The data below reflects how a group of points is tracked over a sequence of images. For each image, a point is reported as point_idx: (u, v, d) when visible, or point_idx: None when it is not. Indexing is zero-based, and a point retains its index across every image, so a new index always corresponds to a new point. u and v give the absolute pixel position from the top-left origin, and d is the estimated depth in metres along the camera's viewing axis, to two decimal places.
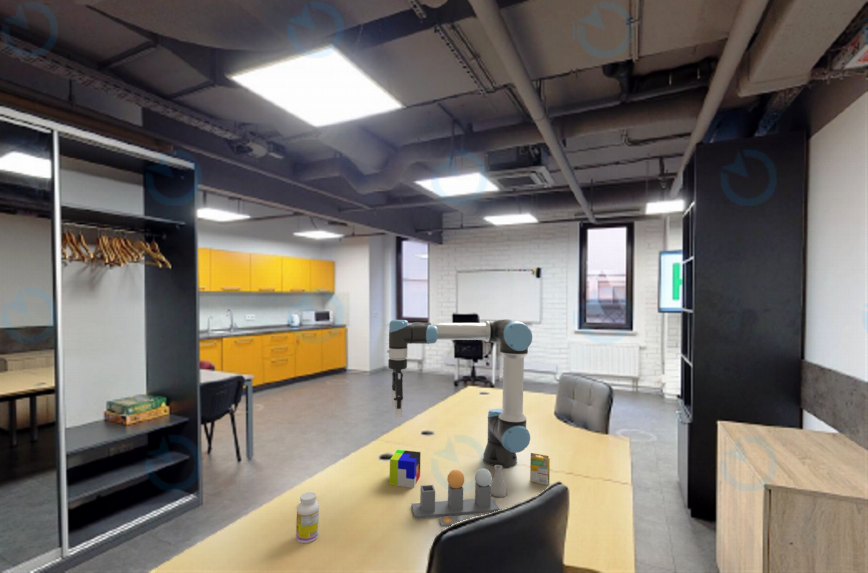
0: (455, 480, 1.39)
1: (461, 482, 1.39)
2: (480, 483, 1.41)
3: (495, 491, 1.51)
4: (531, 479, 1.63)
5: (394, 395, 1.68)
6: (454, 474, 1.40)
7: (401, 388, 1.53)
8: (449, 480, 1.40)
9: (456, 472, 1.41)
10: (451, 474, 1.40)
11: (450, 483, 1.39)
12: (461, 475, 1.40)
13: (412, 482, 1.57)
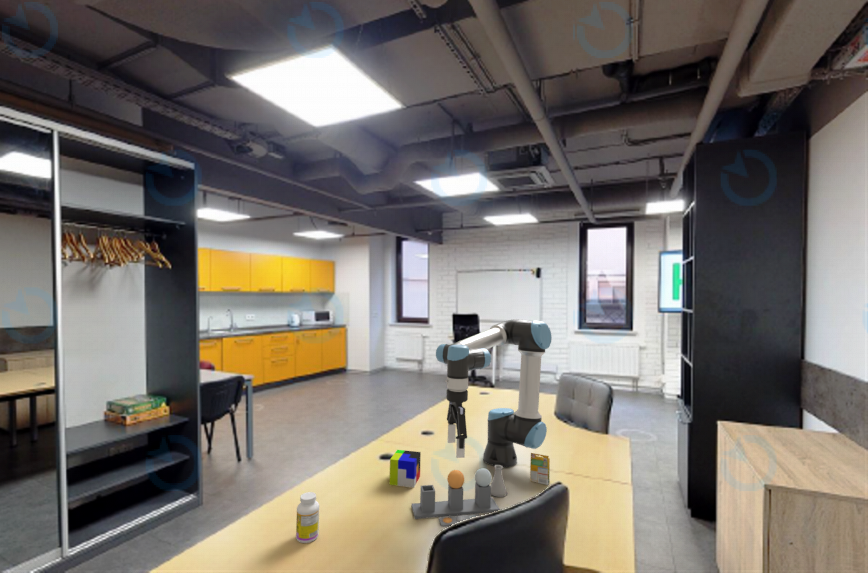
0: (455, 480, 1.39)
1: (461, 482, 1.39)
2: (480, 483, 1.41)
3: (495, 491, 1.51)
4: (531, 479, 1.63)
5: (450, 429, 1.48)
6: (454, 474, 1.40)
7: (464, 425, 1.34)
8: (449, 480, 1.40)
9: (456, 472, 1.41)
10: (451, 474, 1.40)
11: (450, 483, 1.39)
12: (461, 475, 1.40)
13: (412, 482, 1.57)
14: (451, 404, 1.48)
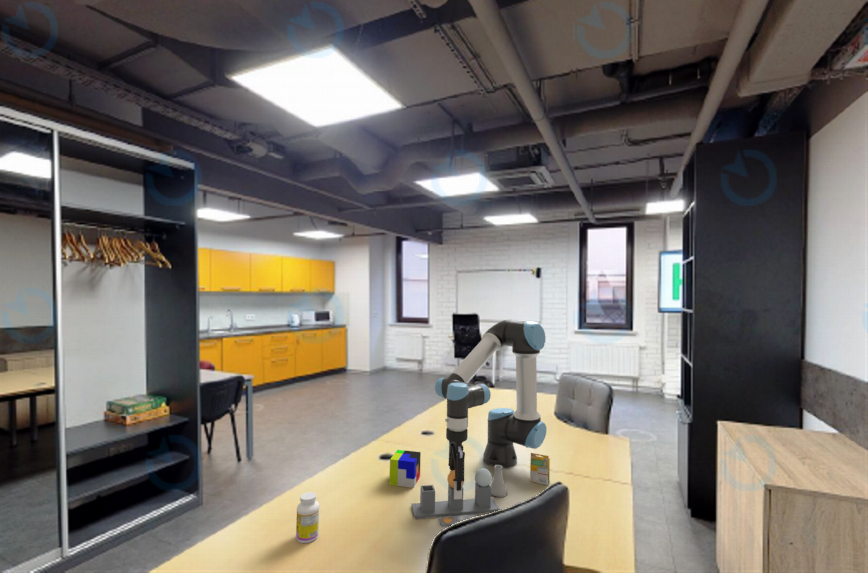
0: None
1: None
2: (480, 483, 1.41)
3: (495, 491, 1.51)
4: (531, 479, 1.63)
5: None
6: (454, 474, 1.40)
7: (462, 469, 1.35)
8: (449, 480, 1.40)
9: None
10: (451, 474, 1.40)
11: (450, 483, 1.39)
12: None
13: (412, 482, 1.57)
14: None
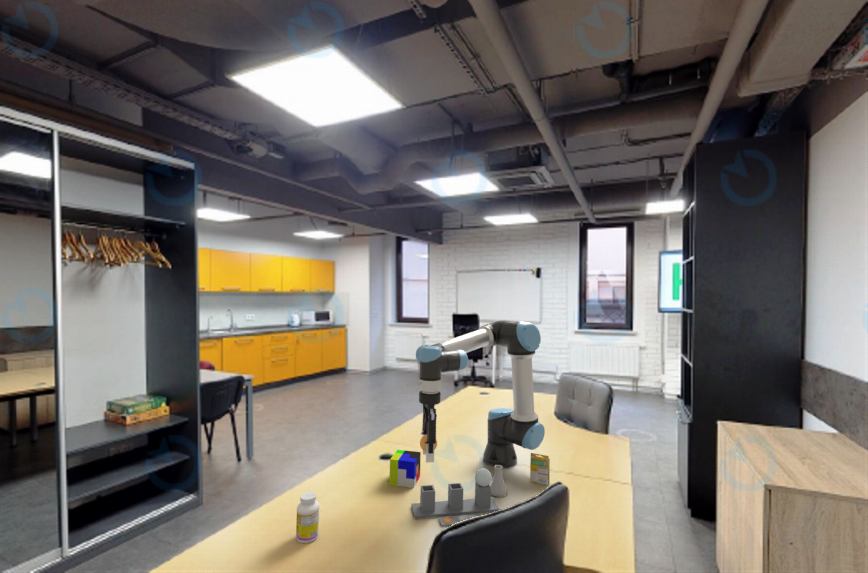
0: None
1: None
2: (480, 483, 1.41)
3: (495, 491, 1.51)
4: (531, 479, 1.63)
5: None
6: None
7: (434, 431, 1.34)
8: (421, 443, 1.38)
9: None
10: (423, 437, 1.39)
11: (422, 446, 1.38)
12: None
13: (412, 482, 1.57)
14: None
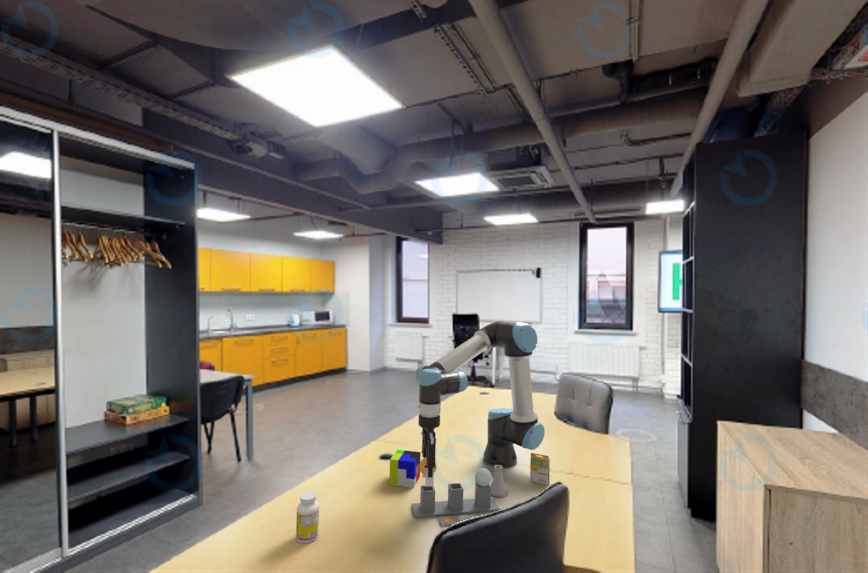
0: None
1: None
2: (480, 483, 1.41)
3: (495, 491, 1.51)
4: (531, 479, 1.63)
5: None
6: None
7: (433, 455, 1.34)
8: (421, 467, 1.38)
9: None
10: (423, 461, 1.39)
11: (422, 470, 1.38)
12: None
13: (412, 482, 1.57)
14: None
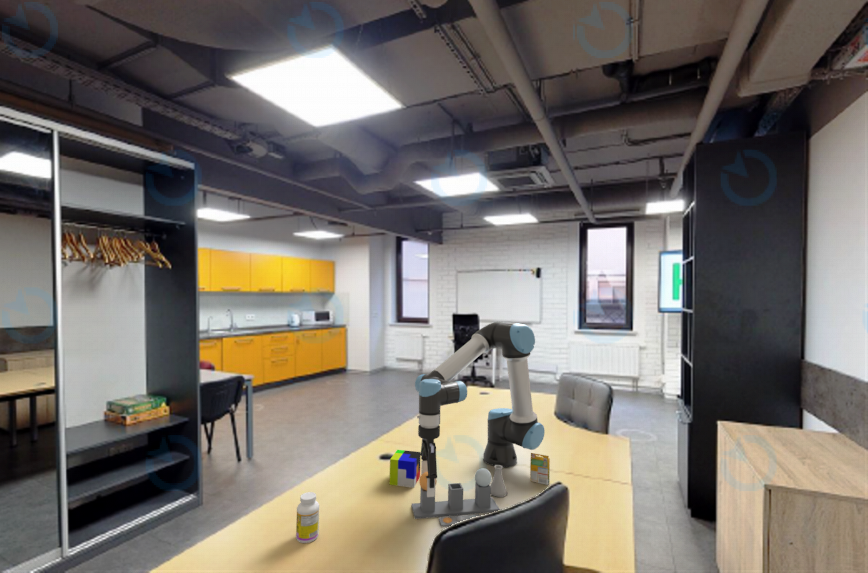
0: (426, 482, 1.37)
1: None
2: (480, 483, 1.41)
3: (495, 491, 1.51)
4: (531, 479, 1.63)
5: (424, 466, 1.46)
6: None
7: (434, 464, 1.32)
8: (421, 482, 1.38)
9: None
10: (423, 476, 1.39)
11: (422, 485, 1.38)
12: None
13: (412, 482, 1.57)
14: (424, 439, 1.45)
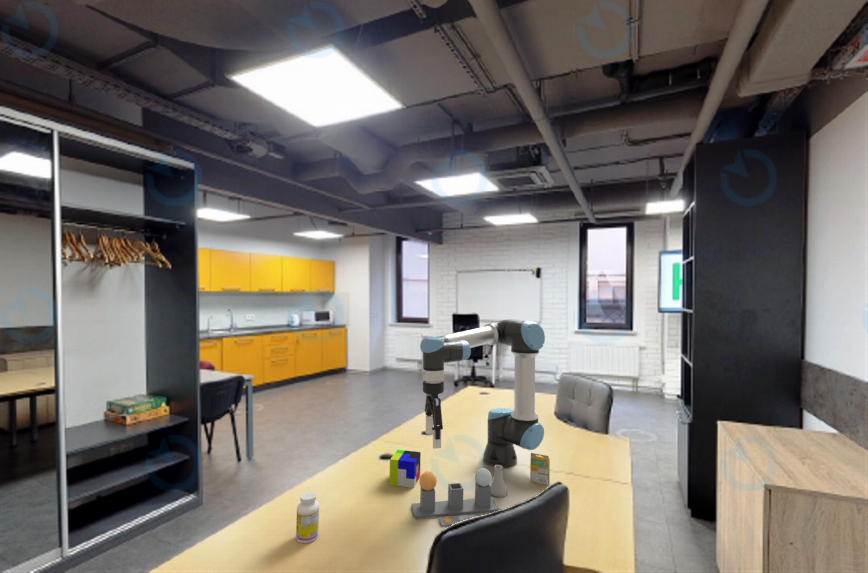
0: (426, 482, 1.37)
1: (433, 484, 1.37)
2: (480, 483, 1.41)
3: (495, 491, 1.51)
4: (531, 479, 1.63)
5: (428, 421, 1.50)
6: (426, 476, 1.38)
7: (440, 416, 1.35)
8: (421, 482, 1.38)
9: (428, 474, 1.39)
10: (423, 476, 1.39)
11: (422, 485, 1.38)
12: (433, 477, 1.39)
13: (412, 482, 1.57)
14: (428, 396, 1.49)
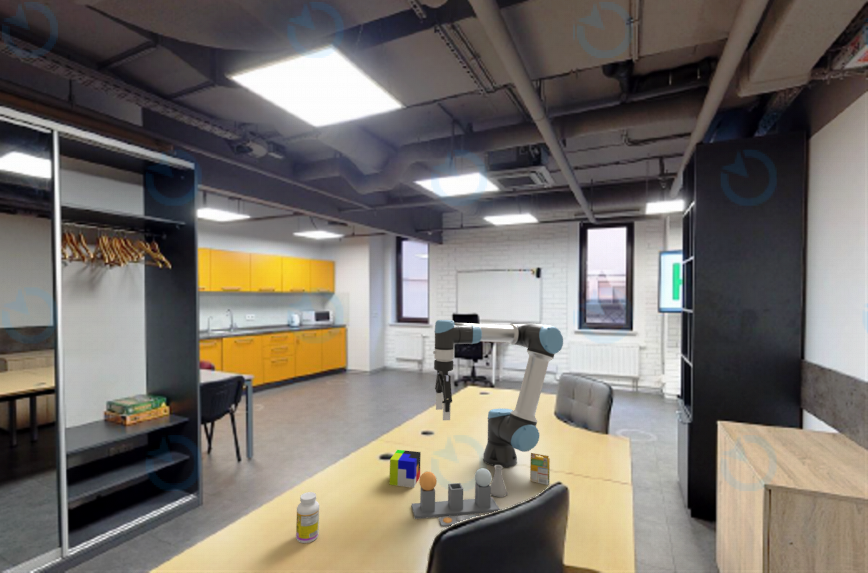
0: (426, 482, 1.37)
1: (433, 484, 1.37)
2: (480, 483, 1.41)
3: (495, 491, 1.51)
4: (531, 479, 1.63)
5: (438, 397, 1.62)
6: (426, 476, 1.38)
7: (449, 391, 1.48)
8: (421, 482, 1.38)
9: (428, 474, 1.39)
10: (423, 476, 1.39)
11: (422, 485, 1.38)
12: (433, 477, 1.39)
13: (412, 482, 1.57)
14: None
